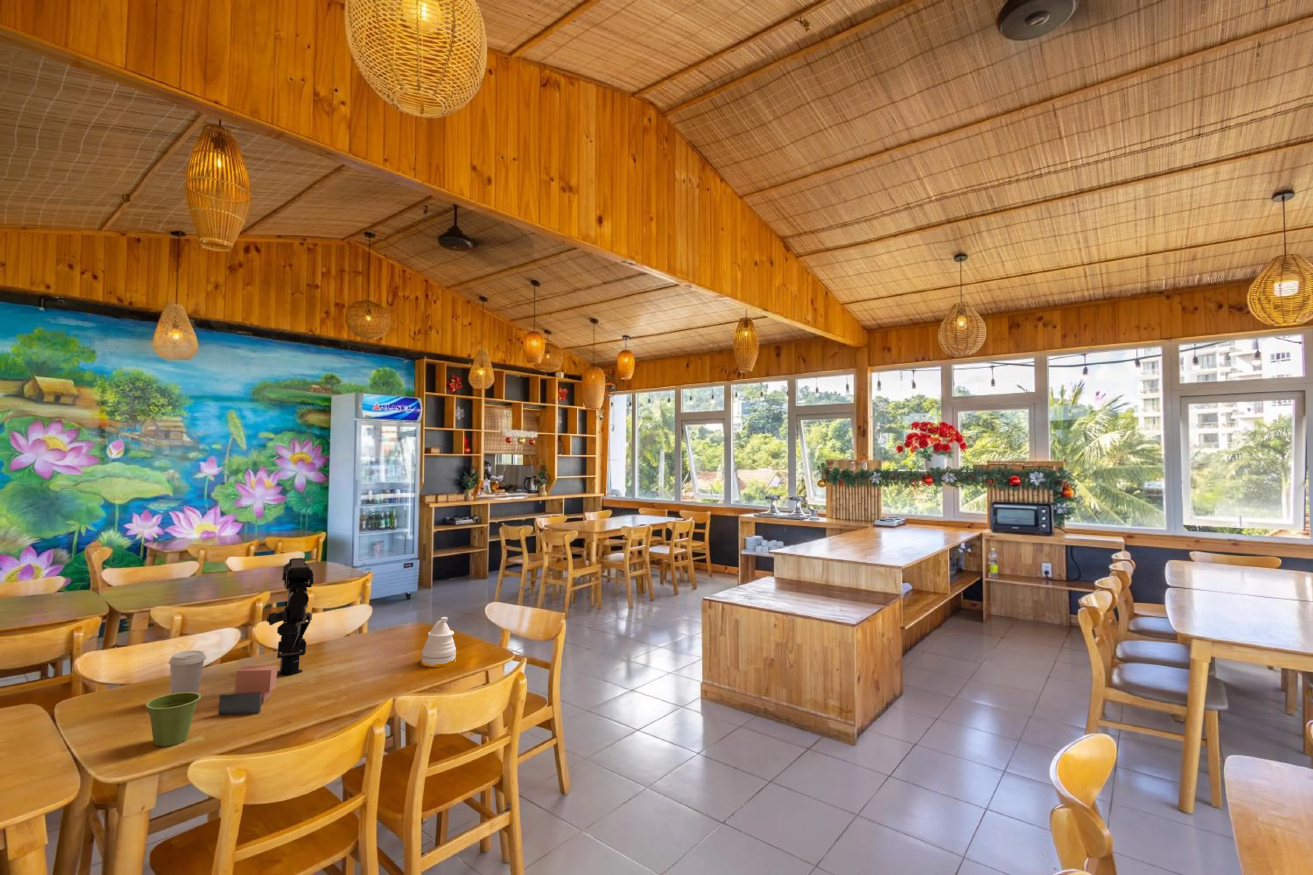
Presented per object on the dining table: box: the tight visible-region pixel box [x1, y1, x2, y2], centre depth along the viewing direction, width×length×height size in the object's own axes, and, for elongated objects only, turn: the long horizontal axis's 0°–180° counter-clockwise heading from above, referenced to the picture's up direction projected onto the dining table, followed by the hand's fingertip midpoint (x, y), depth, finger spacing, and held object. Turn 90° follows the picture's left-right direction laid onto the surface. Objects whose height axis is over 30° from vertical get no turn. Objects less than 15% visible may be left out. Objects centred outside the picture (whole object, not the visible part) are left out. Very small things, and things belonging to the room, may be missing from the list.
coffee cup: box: [168, 650, 207, 694], centre depth 192 cm, size 10×10×15 cm
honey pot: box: [421, 616, 457, 665], centre depth 240 cm, size 13×13×18 cm
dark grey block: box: [217, 692, 262, 716], centre depth 190 cm, size 14×11×6 cm
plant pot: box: [145, 692, 201, 748], centre depth 164 cm, size 12×12×11 cm
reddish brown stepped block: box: [234, 664, 278, 704], centre depth 194 cm, size 5×10×10 cm, turn 102°
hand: (293, 647), depth 210 cm, fingers open, 9 cm apart
